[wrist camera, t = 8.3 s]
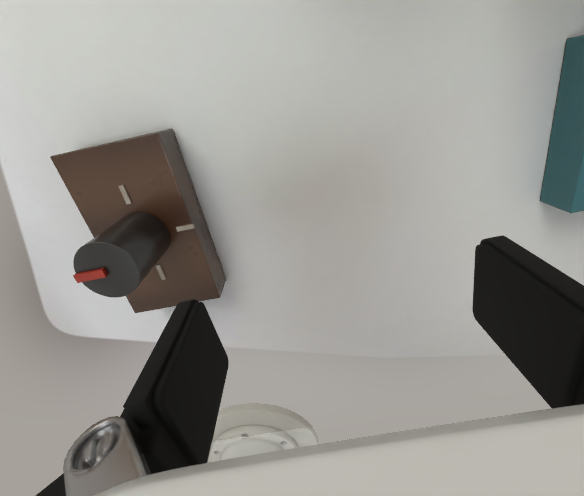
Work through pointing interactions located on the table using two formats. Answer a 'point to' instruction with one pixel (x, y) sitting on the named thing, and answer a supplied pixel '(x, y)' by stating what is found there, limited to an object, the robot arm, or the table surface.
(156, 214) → the panel
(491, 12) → the table surface
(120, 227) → the dial
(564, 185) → the teal push button box
